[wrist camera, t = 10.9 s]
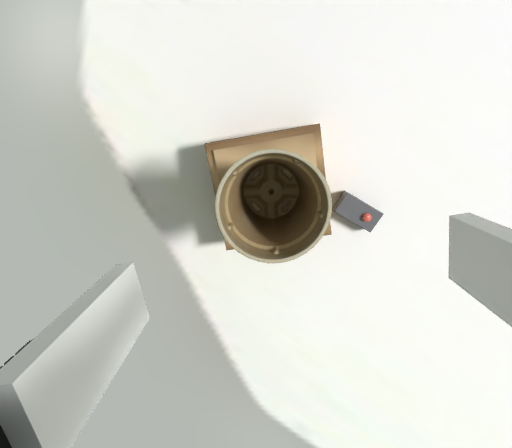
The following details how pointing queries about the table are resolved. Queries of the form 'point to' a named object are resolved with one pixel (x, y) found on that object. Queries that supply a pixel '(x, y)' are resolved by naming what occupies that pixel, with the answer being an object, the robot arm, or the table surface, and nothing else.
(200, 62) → the table surface
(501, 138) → the table surface
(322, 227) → the flower pot
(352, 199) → the clicker
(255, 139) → the plinth
